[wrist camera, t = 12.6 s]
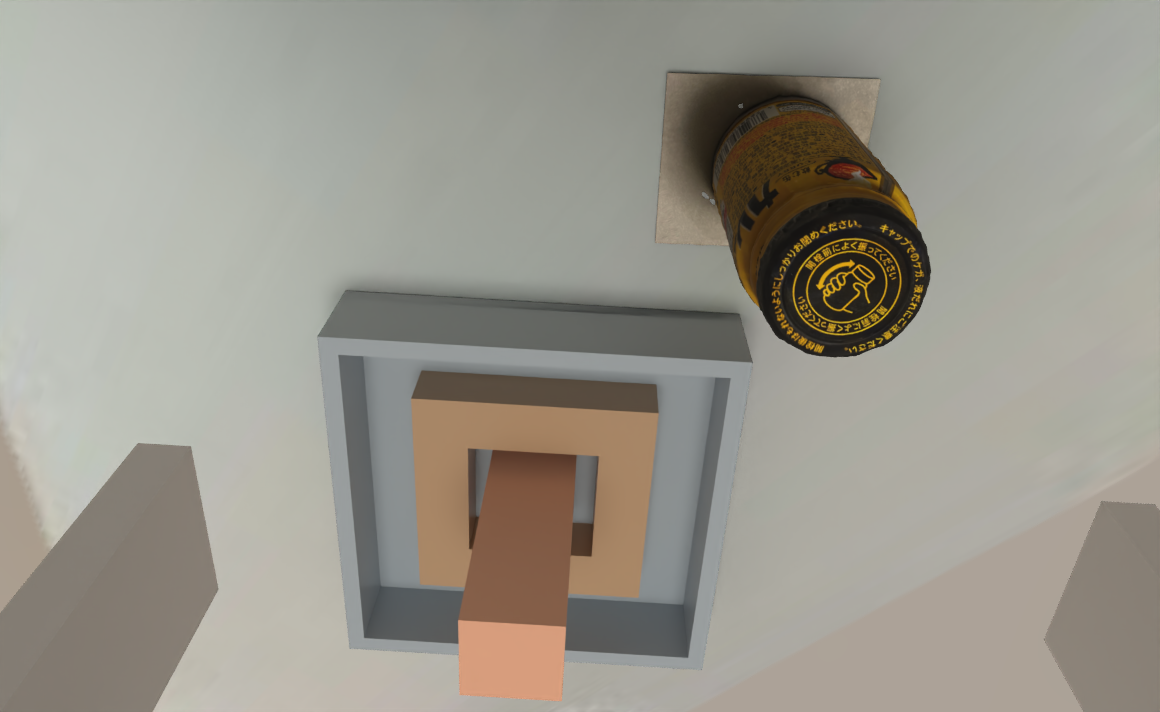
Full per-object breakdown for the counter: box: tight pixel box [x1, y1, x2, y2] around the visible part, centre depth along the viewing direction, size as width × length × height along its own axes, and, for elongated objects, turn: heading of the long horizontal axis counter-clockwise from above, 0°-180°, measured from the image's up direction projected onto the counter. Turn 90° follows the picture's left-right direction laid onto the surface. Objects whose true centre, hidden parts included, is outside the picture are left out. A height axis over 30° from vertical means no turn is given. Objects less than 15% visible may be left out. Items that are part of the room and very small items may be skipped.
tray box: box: [317, 291, 753, 670], centre depth 44 cm, size 18×18×4 cm
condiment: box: [655, 73, 931, 357], centre depth 33 cm, size 7×8×12 cm
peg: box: [458, 450, 577, 701], centre depth 40 cm, size 4×4×12 cm
